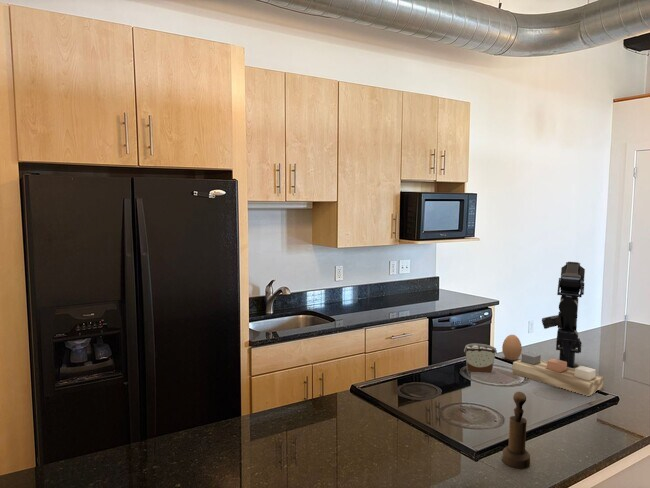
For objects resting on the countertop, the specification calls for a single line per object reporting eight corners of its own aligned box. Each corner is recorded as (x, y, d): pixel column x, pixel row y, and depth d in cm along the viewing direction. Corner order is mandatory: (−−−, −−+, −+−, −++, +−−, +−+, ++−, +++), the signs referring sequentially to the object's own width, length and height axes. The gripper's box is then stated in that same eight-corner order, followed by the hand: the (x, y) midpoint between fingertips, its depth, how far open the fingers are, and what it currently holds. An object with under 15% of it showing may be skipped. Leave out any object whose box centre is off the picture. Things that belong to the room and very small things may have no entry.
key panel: (528, 367, 195) (528, 356, 195) (602, 389, 174) (603, 376, 173) (512, 373, 188) (513, 362, 187) (588, 397, 166) (589, 384, 166)
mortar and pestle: (497, 455, 126) (501, 387, 124) (521, 454, 126) (526, 387, 125) (509, 469, 119) (513, 397, 118) (534, 468, 120) (539, 397, 118)
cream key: (580, 373, 176) (581, 365, 176) (595, 377, 172) (595, 369, 172) (574, 376, 173) (575, 368, 173) (589, 380, 169) (589, 372, 169)
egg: (522, 359, 205) (524, 334, 204) (518, 364, 199) (520, 338, 198) (503, 356, 209) (505, 331, 208) (499, 360, 203) (501, 335, 202)
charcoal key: (527, 359, 192) (528, 351, 191) (540, 362, 188) (540, 354, 187) (521, 361, 188) (521, 353, 188) (533, 365, 185) (534, 357, 184)
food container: (492, 368, 193) (493, 344, 192) (495, 374, 187) (497, 348, 186) (460, 366, 194) (461, 342, 193) (463, 372, 188) (464, 346, 187)
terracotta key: (553, 366, 184) (553, 358, 184) (566, 369, 180) (567, 361, 180) (546, 368, 181) (547, 360, 180) (560, 372, 177) (560, 364, 177)
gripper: (545, 303, 186) (542, 343, 187) (542, 312, 169) (539, 356, 170) (577, 306, 181) (574, 347, 182) (578, 316, 164) (575, 361, 166)
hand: (565, 352), depth 175 cm, fingers open, 9 cm apart
